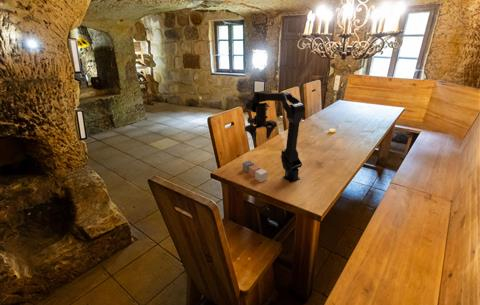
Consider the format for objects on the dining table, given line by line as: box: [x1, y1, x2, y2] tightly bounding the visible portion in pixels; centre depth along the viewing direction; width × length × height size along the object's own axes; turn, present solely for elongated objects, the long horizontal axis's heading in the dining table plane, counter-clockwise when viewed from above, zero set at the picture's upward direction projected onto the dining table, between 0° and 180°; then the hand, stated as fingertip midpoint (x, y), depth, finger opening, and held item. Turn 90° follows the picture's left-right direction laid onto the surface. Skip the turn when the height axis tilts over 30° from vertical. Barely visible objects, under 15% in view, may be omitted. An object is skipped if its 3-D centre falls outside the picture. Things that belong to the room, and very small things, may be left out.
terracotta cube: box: [248, 163, 261, 178], centre depth 140 cm, size 4×4×4 cm
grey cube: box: [242, 160, 255, 174], centre depth 144 cm, size 4×4×4 cm
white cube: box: [254, 168, 268, 183], centre depth 135 cm, size 4×4×4 cm
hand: (261, 140), depth 149 cm, fingers open, 9 cm apart
